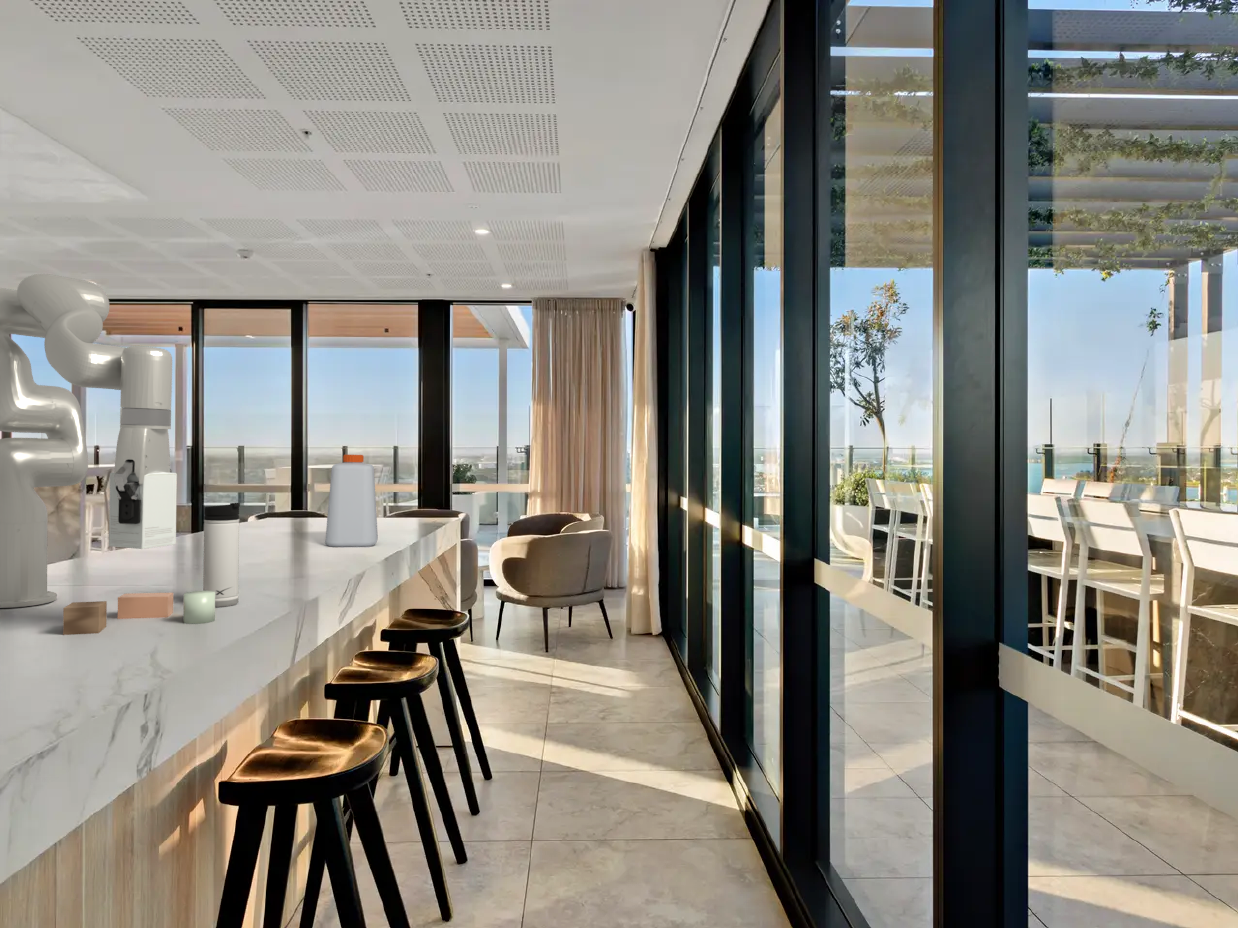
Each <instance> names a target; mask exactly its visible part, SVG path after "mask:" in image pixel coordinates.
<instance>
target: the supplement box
mask: <svg viewBox="0 0 1238 928" xmlns="http://www.w3.org/2000/svg"><path fill="white" fill-rule="evenodd" d="M128 481H135V482H138V481H139V478H137V476H136V474H130V475H129V476H128ZM177 481H178V474H177V473H176V472H172V473H166V472H162V473H153V474H147V475H145V476H144V481H143V484H142V485H141V486H140V494H139V497H138V499H137V500H141V505H140V523H139V524H120V523H119V522H118V514H119V499H118V498H117V494H118V492H117V490H116V484H115V482H114V472H110V473H109V511H108V512H109V515H108V516H109V519H108V522H109V523H108V524H109V525H108V527H109V528H108V529H109V530H108V531H109V533H108V547H111V548H112V547H113V548H126V549H136V550H147V549H153V548H161V547H162V548H163V547H169V546H175V545H177V544H176V543H177V497H178V496H177V495H178V494H177V490H178V489H177V487H178V486H177V485H178V484H177V483H178V482H177ZM134 488H135V487H134ZM134 488H132V490H134Z"/></svg>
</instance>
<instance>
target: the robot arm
mask: <svg viewBox="0 0 1238 928" xmlns="http://www.w3.org/2000/svg"><path fill="white" fill-rule="evenodd" d="M109 313H110V300H109V297H108V294H107V293H106V292H105V290H104V289H103V288H102V287H101V286H100V285H98V284H96V283H94V282H91V281H88V280H81V279H77V278H72V277H66V276H62V275H56V274H49V273H37V274H31V275H28V276H26V277H25V278H23V279H22V280H21V281H20V283H18V286H17V289H12V288H5V287H0V432H4V433H23V434H25V433H27V434H29V433H31V434H45V435H46V437H47V438H42V437H40V438H38V437H4V438H0V609H8V608H9V609H10V608H11V609H12V608H13V609H14V608H22V607H32V606H37V605H38V606H39V605H45V604H48V603H52V602H54V601H56V600H57V598H58V594H57V592H55V591H48V537H49V536H48V531H49V530H48V529H49V526H48V523H49V521H48V519H49V518H48V517H49V516H48V515H49V514H48V513H49V512H48V508H47V506H46V503H45V502H44V501H43V499H42V498H41V497H40V496H39V494H38V493H37V491H36V490H35V489H36V488H45V487H46V488H49V487H68V486H69V487H70V486H74V485H77V484H79V483H81V482H82V481H83V480H84V479H85V477H86V476H87V473H88V470H89V455H88V449H87V448H88V447H87V441H86V434H85V428H84V427H85V425H84V421H83V420H84V419H83V414H82V409H81V406H80V405H81V404H80V403H79V400H78V399H77V397H76V396H75V394H74V393H72V391H70V390H69V389H67V388H65V387H61V386H56V385H43V384H42V385H41V384H40V385H39V384H37V383H36V381H35V380H34V377H33V370H32V363H31V361H30V358H29V357H28V355H27V354H26V352H25V351H24V350H23V349H22V348H21V346H20V345H19V344H18V343H17V342H16V341H14V339H12V337H10V335H17V336H25V337H34V338H41V339H43V338H44V341H43V342H44V351H45V357H46V359H47V362H48V364H49V365H50V367H52V368H53V369H54V371H55V372H57V374H58V375H59V376H60V377H61V378H62V379H64V380H65V381H66V382H69V384H71V385H74V386H76V387H80V388H90V389H103V390H115V391H117V390H118V391H120V404H119V405H120V406H119V407H120V409H119V410H120V412H119V413H120V415H119V427H120V428H119V432H118V435H117V441H116V448H115V449H116V450H115V456H114V457H115V461H114V471H113V473H114V482H115V484H116V490H117V492H118V494H117V498H118V499H119V514H118V522H119V523H120V524H139V523H140V505H141V500H137V499H138V497H139V494H140V486H141V485H142V484H143V481H144V476H145V475H147V474H153V473H162V472H166V473H173V472H172V471H173V470H172V469H171V454H170V452H171V451H170V448H171V447H170V435H169V430H171V429H172V392H173V391H172V388H173V387H172V385H173V383H172V382H173V356H172V354H171V352H170V351H169V350H167V349H165V348H161V347H156V346H155V347H154V346H142V345H141V346H139V345H133V346H132V345H131V346H127V347H123V346H118V345H110V344H101V343H94V342H96V341H97V340H98V339H99V337H100V336H101V334H102V332H103V328H104V324H103V323H104V322H105V321H106V319H107V317H108V315H109ZM130 474H136V476H137V478H139V481H138V482H135V481H128V476H129V475H130ZM134 487H135V488H134ZM132 488H134V490H132Z"/></svg>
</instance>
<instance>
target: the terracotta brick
mask: <svg viewBox="0 0 1238 928" xmlns="http://www.w3.org/2000/svg"><path fill="white" fill-rule="evenodd" d="M172 614H174V592H135V593H133V592H132V593H123V594H122V595H120V596H118V597H117V620H123V619H124V620H127V619H129V620H130V619H132V620H133V619H158V618H159V619H160V618H162V619H163V618H169V617H170V616H171V615H172Z"/></svg>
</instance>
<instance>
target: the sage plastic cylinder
mask: <svg viewBox="0 0 1238 928" xmlns="http://www.w3.org/2000/svg"><path fill="white" fill-rule="evenodd" d="M182 605H183V609H182V610H183V615H182V617H183V618H182V622H183V624H186V625H199V624H200V625H202V624H203V625H204V624H208V623H213V622H214V621H216V607H215V592H214V591H203V590H194V591H188V592H187V591H186V592H184V593H183V604H182Z"/></svg>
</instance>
